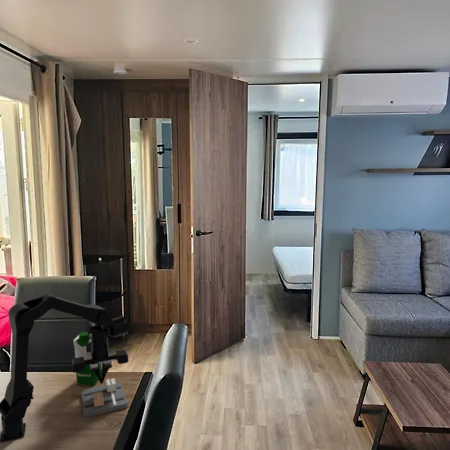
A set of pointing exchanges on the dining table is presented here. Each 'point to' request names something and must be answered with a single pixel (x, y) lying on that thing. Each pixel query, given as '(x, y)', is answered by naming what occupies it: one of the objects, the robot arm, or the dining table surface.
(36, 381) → the dining table surface
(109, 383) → the fader ivory
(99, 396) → the fader terracotta
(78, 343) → the milk carton
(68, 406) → the dining table surface
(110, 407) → the console
